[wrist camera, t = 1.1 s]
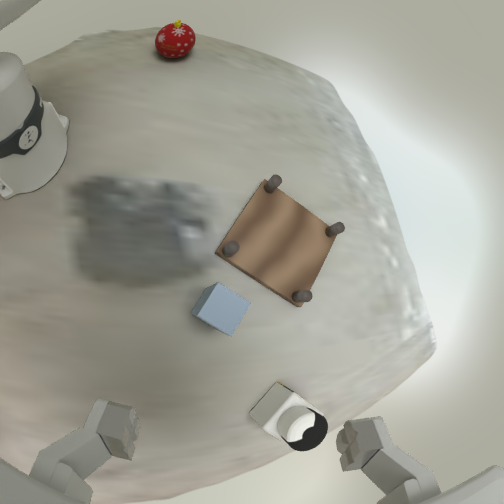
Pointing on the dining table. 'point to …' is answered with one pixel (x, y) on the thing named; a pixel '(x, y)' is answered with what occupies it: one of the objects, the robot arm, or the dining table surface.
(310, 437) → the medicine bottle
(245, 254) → the peg board
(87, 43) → the dining table surface
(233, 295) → the blue block
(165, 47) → the christmas ornament
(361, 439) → the robot arm
